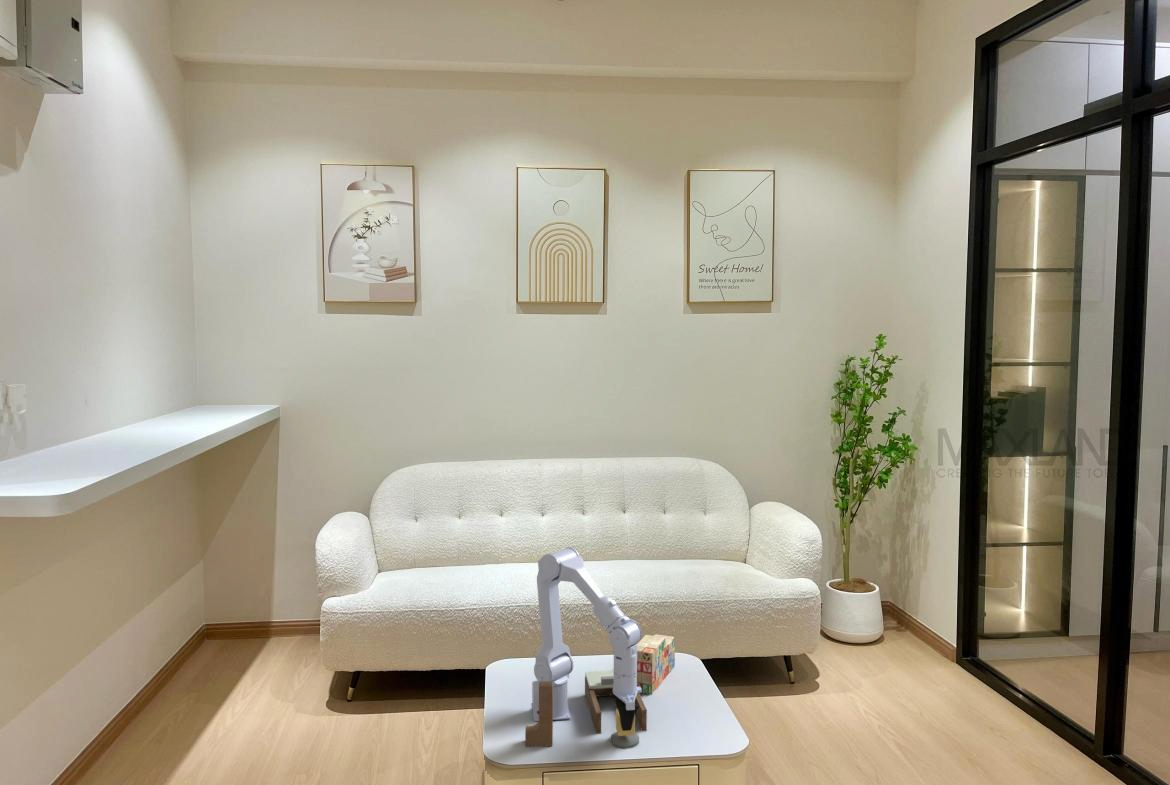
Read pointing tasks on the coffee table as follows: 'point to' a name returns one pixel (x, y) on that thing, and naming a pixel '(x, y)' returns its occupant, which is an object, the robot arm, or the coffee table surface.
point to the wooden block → (542, 718)
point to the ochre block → (619, 728)
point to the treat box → (596, 712)
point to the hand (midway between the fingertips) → (624, 725)
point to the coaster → (624, 740)
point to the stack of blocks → (654, 661)
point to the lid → (600, 679)
